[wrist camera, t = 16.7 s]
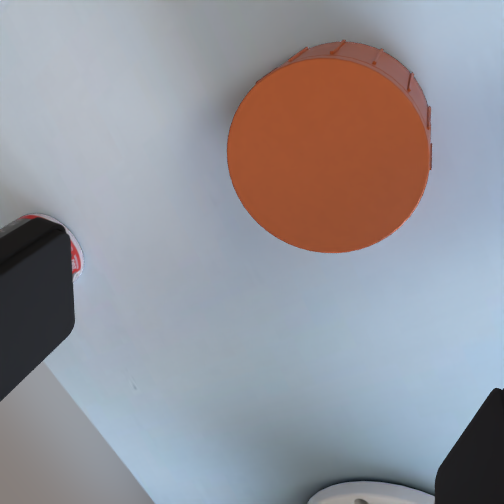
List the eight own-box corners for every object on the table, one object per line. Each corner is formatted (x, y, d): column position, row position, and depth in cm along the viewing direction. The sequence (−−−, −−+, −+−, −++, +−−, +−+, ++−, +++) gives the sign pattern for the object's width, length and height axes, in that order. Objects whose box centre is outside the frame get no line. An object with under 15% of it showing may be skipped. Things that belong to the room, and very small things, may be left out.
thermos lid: (271, 21, 17) (241, 33, 15) (462, 66, 16) (468, 89, 13) (243, 187, 21) (215, 221, 19) (394, 234, 20) (388, 277, 17)
